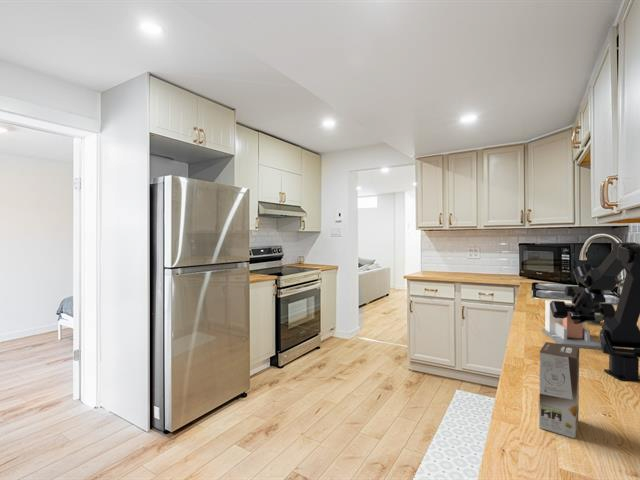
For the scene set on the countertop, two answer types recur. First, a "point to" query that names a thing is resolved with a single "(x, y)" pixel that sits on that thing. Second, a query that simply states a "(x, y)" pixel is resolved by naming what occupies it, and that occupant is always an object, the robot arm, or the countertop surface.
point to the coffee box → (559, 388)
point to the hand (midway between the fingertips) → (575, 322)
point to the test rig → (560, 333)
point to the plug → (573, 328)
